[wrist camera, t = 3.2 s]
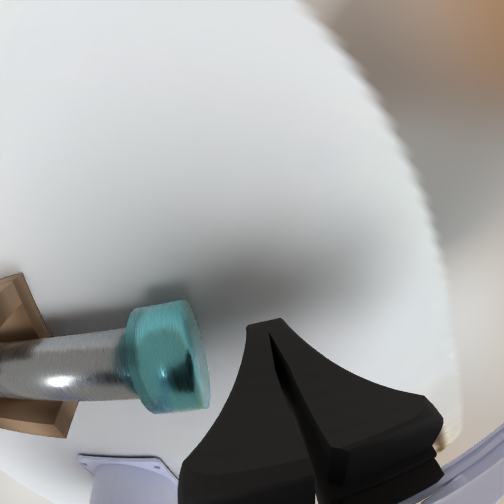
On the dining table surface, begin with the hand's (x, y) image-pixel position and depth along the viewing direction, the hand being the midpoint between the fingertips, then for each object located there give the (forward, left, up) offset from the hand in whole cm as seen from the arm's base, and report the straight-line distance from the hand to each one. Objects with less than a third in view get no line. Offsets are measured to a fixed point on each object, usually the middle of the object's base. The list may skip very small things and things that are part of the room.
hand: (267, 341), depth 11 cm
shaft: (0, +10, -2) cm, 10 cm away
